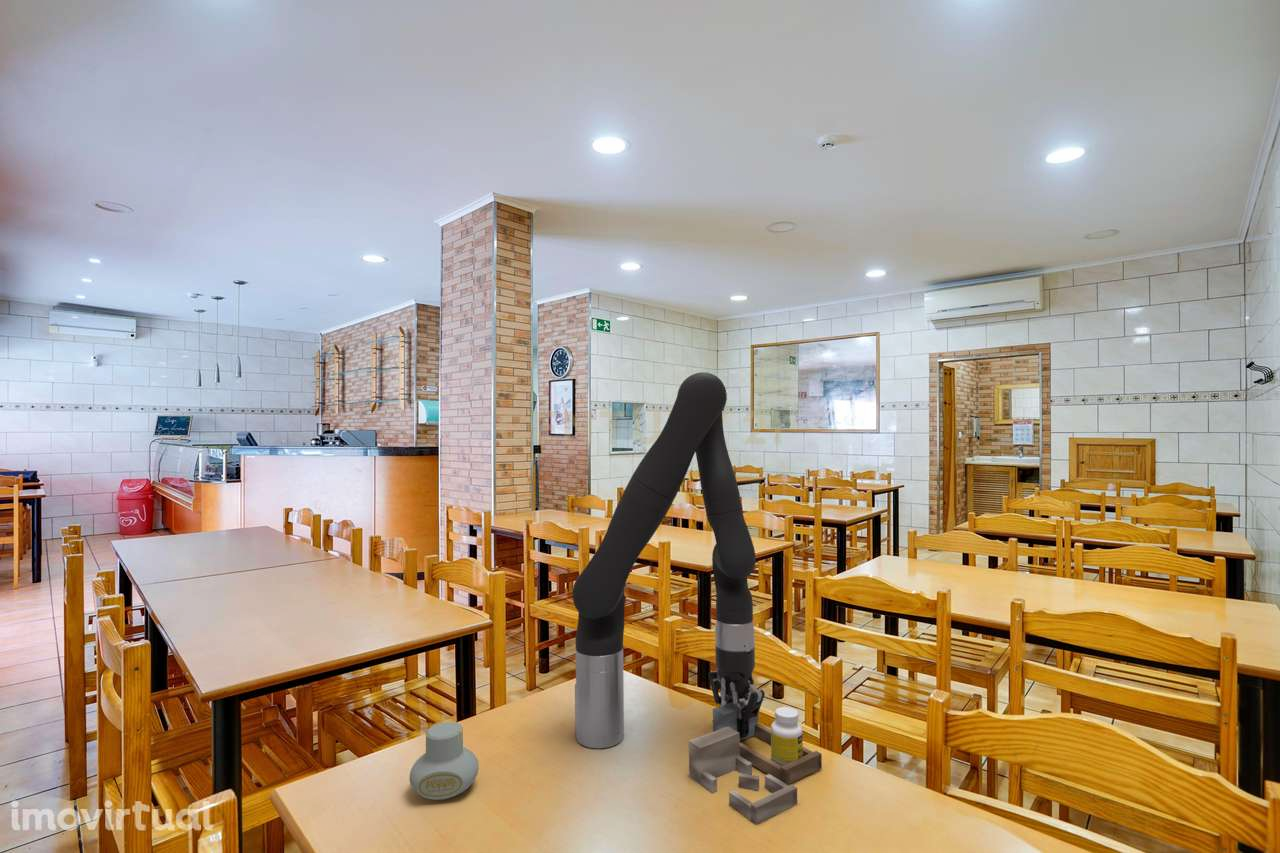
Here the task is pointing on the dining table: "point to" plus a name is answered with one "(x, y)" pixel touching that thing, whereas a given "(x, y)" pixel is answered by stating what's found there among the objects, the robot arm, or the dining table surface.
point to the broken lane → (723, 756)
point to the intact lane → (786, 773)
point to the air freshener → (444, 764)
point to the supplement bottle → (786, 737)
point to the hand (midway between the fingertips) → (736, 732)
